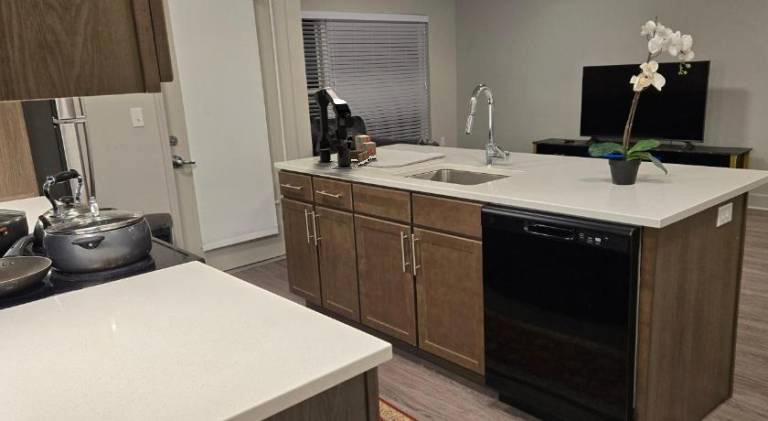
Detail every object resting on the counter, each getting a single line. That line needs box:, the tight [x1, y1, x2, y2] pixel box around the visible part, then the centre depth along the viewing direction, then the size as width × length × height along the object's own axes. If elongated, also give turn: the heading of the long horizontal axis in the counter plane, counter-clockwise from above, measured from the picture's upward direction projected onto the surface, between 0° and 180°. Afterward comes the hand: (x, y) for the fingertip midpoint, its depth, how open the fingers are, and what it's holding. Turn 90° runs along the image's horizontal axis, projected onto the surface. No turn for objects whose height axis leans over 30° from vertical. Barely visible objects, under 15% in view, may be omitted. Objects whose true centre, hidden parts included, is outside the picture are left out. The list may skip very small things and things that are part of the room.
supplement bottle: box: [336, 143, 352, 167], centre depth 305 cm, size 7×7×12 cm
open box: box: [336, 150, 369, 164], centre depth 316 cm, size 14×13×6 cm
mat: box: [332, 164, 356, 170], centre depth 306 cm, size 10×10×1 cm
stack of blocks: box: [354, 134, 377, 156], centre depth 338 cm, size 21×6×12 cm, turn 19°
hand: (343, 156), depth 305 cm, fingers open, 7 cm apart
